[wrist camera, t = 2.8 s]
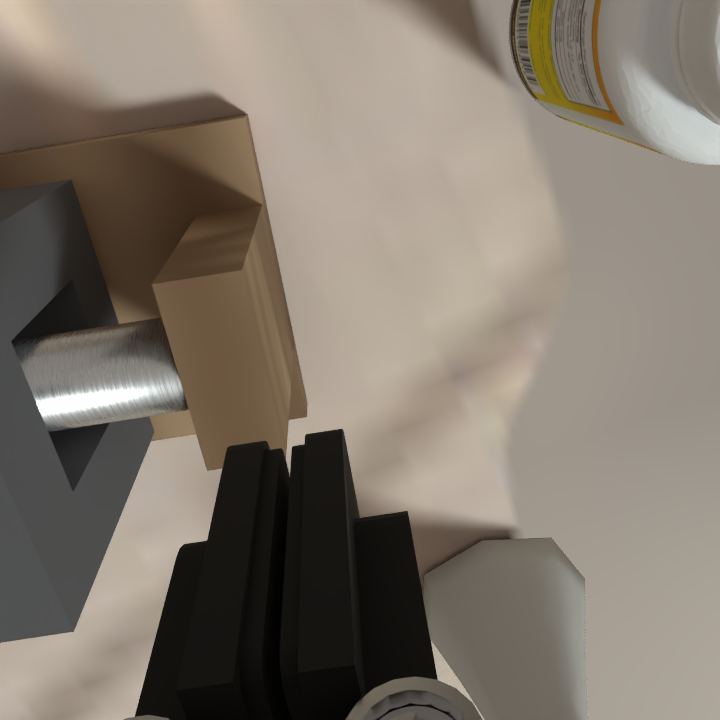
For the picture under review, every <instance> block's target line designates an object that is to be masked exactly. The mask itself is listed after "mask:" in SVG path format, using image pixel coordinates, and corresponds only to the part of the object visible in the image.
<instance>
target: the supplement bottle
mask: <svg viewBox="0 0 720 720" xmlns="http://www.w3.org/2000/svg"><path fill="white" fill-rule="evenodd" d="M509 40H510V49H511V55H512V59H513V62H514V65H515V68H516V71H517V73H518V76H519V78H520V80H521V82H522V83H523V85H524V87H525V88H526V89H527V91H528V92H529V94H530V95H531V96H532V97H533V98H534V99H535V101H537V102H538V103H539V104H540V105H541V106H542V107H544V108H545V109H546V110H548V111H549V112H551V113H553V114H554V115H556V116H558V117H560V118H563V119H565V120H568V121H570V122H573V123H576V124H578V125H581V126H584V127H587V128H590V129H593V130H596V131H598V132H602V133H604V134H608V135H610V136H613V137H616V138H619V139H622V140H624V141H627V142H630V143H633V144H636V145H639V146H641V147H644V148H647V149H650V150H652V151H655V152H658V153H661V154H664V155H666V156H669V157H672V158H676V159H679V160H683V161H687V162H692V163H699V164H710V165H720V0H513V3H512V7H511V13H510V22H509Z"/></svg>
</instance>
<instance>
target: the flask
mask: <svg viewBox="0 0 720 720" xmlns="http://www.w3.org/2000/svg"><path fill="white" fill-rule="evenodd" d="M423 601H424V606H425V612H426V618H427V623H428V629H429V635H430V639H431V640H432V642H433V643H434V645H435V646H436V647H437V649H438V650H439V652H440V653H441V655H442V656H443V657H444V659H445V660H446V662H447V663H448V665H449V666H450V667H451V669H452V670H453V672H454V673H455V675H456V676H457V677H458V679H459V680H460V682H461V683H462V685H463V686H464V688H465V689H466V691H467V692H468V694H469V696H470V697H471V699H472V700H473V702H474V703H475V705H476V706H477V708H478V710H479V711H480V713H481V714H482V716H483V717H484V719H485V720H589V717H588V701H587V677H586V652H585V578H584V577H583V576H582V575H581V573H580V572H579V571H578V570H577V569H576V567H575V566H574V565H573V564H572V562H571V561H570V560H569V559H568V558H567V556H566V555H565V554H564V553H563V551H562V550H561V549H560V548H559V547H558V545H557V544H556V543H555V542H554V540H553V539H552V538H533V539H532V538H531V539H505V540H482V541H480V542H478V543H477V544H475V545H473V546H472V547H470V548H468V549H467V550H465V551H463V552H462V553H460V554H458V555H457V556H455V557H453V558H452V559H450V560H448V561H447V562H445V563H443V564H442V565H440V566H438V567H437V568H435V569H433V570H432V571H430V572H428V573H427V574H425V575H424V591H423Z"/></svg>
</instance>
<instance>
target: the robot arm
mask: <svg viewBox="0 0 720 720" xmlns="http://www.w3.org/2000/svg"><path fill="white" fill-rule="evenodd" d="M124 720H482V718H481V716H480V715H479V713H478V711H477V710H476V708H475V706H474V705H473V703H472V702H471V701H470V700H469V699H467V698H466V697H465V696H464V695H463V694H462V693H461V692H459V691H458V690H457V689H456V688H454V687H452V686H450V685H447V684H445V683H443V682H441V681H439V680H437V674H436V668H435V663H434V657H433V651H432V646H431V640H430V635H429V629H428V623H427V618H426V612H425V606H424V601H423V595H422V589H421V584H420V578H419V572H418V567H417V561H416V555H415V550H414V544H413V539H412V533H411V527H410V522H409V516H408V512H407V511H404V512H398V513H391V514H384V515H378V516H371V517H364V518H360V517H359V511H358V506H357V500H356V495H355V490H354V484H353V479H352V473H351V468H350V463H349V457H348V452H347V446H346V441H345V436H344V432H343V429H338V430H331V431H325V432H318V433H312V434H306V435H305V445H298V446H293V447H292V456H291V472H290V476H289V472H288V467H287V463H286V459H285V455H284V452H283V450H282V448H279V449H272V450H270V447H269V445H268V442H267V441H266V440H265V441H259V442H252V443H245V444H239V445H232V446H229V447H228V448H227V450H226V455H225V459H224V464H223V469H222V474H221V478H220V483H219V488H218V493H217V497H216V502H215V507H214V512H213V516H212V521H211V526H210V530H209V535H208V540H207V541H203V542H196V543H189V544H184V545H183V546H182V547H181V548H180V550H179V552H178V555H177V558H176V561H175V565H174V569H173V573H172V577H171V580H170V584H169V588H168V592H167V596H166V600H165V603H164V607H163V611H162V615H161V619H160V623H159V626H158V630H157V634H156V638H155V642H154V646H153V649H152V653H151V657H150V661H149V665H148V669H147V672H146V676H145V680H144V684H143V688H142V692H141V695H140V699H139V703H138V707H137V711H136V714H135V717H131V718H126V719H124Z"/></svg>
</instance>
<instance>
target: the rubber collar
mask: <svg viewBox="0 0 720 720" xmlns="http://www.w3.org/2000/svg"><path fill="white" fill-rule="evenodd" d="M116 324H119V322H118V319H117V316H116V313H115V310H114V307H113V304H112V301H111V298H110V295H109V292H108V289H107V286H106V283H105V280H104V277H103V274H102V271H101V267H100V264H99V261H98V258H97V255H96V252H95V249H94V246H93V243H92V240H91V237H90V234H89V231H88V228H87V225H86V222H85V219H84V216H83V213H82V210H81V207H80V204H79V201H78V198H77V195H76V192H75V188H74V185H73V182H72V179H71V180H64V181H58V182H52V183H46V184H39V185H33V186H27V187H21V188H14V189H8V190H2V191H0V643H1V642H7V641H14V640H21V639H27V638H34V637H40V636H47V635H54V634H60V633H67V632H73V631H74V629H75V627H76V625H77V622H78V620H79V617H80V615H81V612H82V610H83V607H84V605H85V602H86V600H87V597H88V595H89V592H90V590H91V587H92V585H93V583H94V580H95V578H96V575H97V573H98V570H99V568H100V565H101V563H102V560H103V558H104V555H105V553H106V550H107V548H108V545H109V543H110V541H111V538H112V536H113V533H114V531H115V528H116V526H117V523H118V521H119V518H120V516H121V513H122V511H123V508H124V506H125V503H126V501H127V499H128V496H129V494H130V491H131V489H132V486H133V484H134V481H135V479H136V476H137V474H138V471H139V469H140V466H141V464H142V461H143V459H144V457H145V454H146V452H147V449H148V447H149V444H150V442H151V439H152V437H153V434H154V429H153V426H152V423H151V419H150V416H148V417H142V418H135V419H129V420H122V421H116V422H109V423H103V424H96V425H90V426H84V427H77V428H71V429H64V430H58V431H51V432H48V430H47V428H46V425H45V423H44V420H43V418H42V415H41V413H40V411H39V408H38V406H37V403H36V401H35V398H34V396H33V394H32V391H31V389H30V386H29V384H28V381H27V379H26V377H25V374H24V372H23V369H22V367H21V364H20V362H19V359H18V357H17V355H16V352H15V350H14V347H13V345H12V342H11V341H15V340H21V339H27V338H34V337H40V336H46V335H53V334H59V333H65V332H72V331H78V330H84V329H91V328H97V327H104V326H110V325H116Z"/></svg>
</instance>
